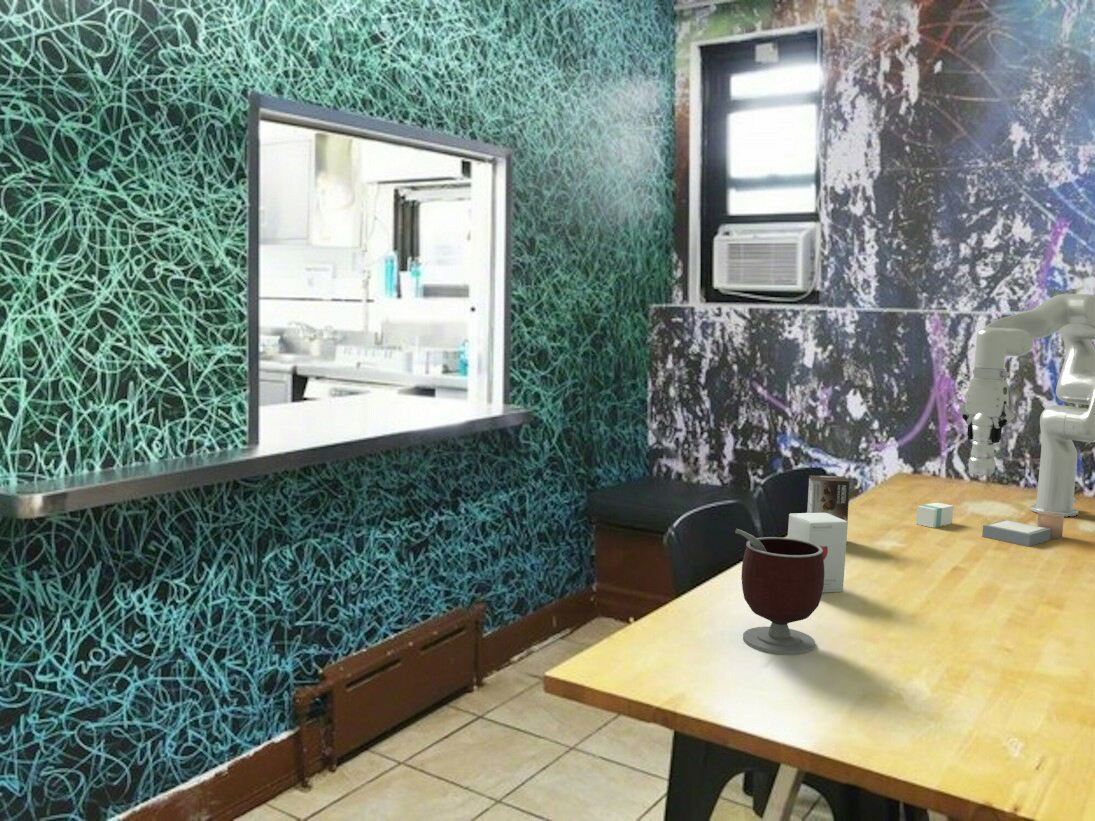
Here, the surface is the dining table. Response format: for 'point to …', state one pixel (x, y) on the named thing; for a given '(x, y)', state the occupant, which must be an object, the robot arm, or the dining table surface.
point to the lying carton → (934, 514)
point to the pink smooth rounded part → (1052, 523)
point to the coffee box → (829, 495)
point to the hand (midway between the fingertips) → (983, 440)
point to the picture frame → (1016, 532)
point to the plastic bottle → (982, 446)
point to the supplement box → (823, 543)
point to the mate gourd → (781, 590)
